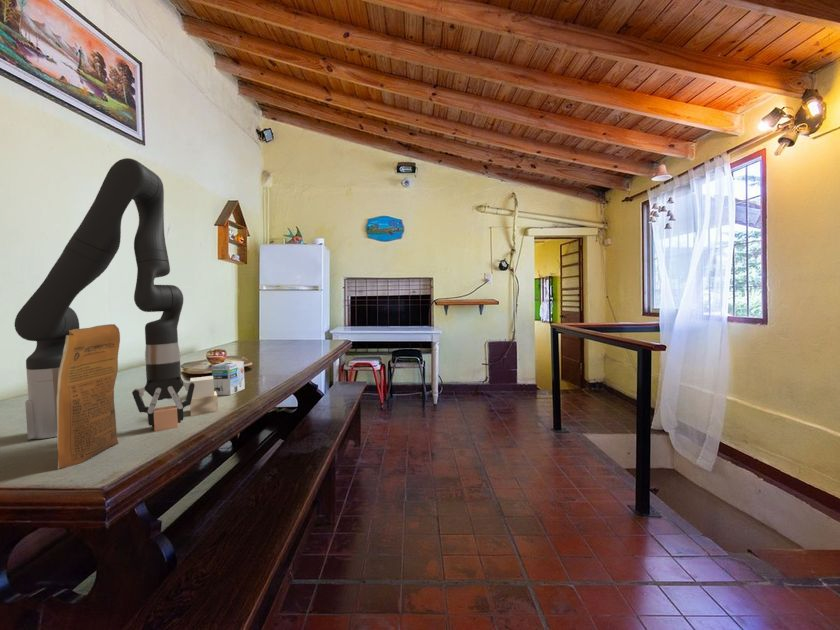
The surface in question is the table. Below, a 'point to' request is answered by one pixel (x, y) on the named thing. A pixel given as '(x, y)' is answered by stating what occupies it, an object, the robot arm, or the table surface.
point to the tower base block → (204, 405)
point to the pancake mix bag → (87, 394)
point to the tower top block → (203, 386)
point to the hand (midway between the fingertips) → (166, 424)
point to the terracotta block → (165, 417)
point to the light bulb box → (228, 377)
